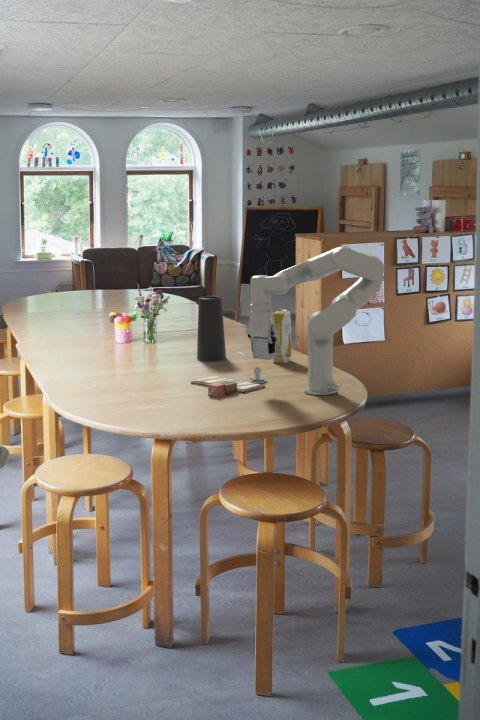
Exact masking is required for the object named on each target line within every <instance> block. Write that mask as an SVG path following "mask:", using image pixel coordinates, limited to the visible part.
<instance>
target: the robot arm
mask: <svg viewBox="0 0 480 720" xmlns="http://www.w3.org/2000/svg"><path fill="white" fill-rule="evenodd" d="M339 271H342V272H345V273H348V274H351V275H353V276H357V277H359V278H358V279H357V281H356V282H354V283H353V284H352V285H351V286H350V287H348V288H347V289H346V290H344V291H343V292H341V293H340V294H339V295H338V296H335V297H334V298H333V300H332V301H331V304H330V305H328V306H327V307H326V308H324V309H323V310H318V311H315V312H313V313H312V314H311V315H310V316H309V319H308V321H307V332H308V333H307V334H308V335H307V339H308V342H307V344H308V345H307V348H308V349H307V350H308V352H307V353H308V354H307V358H308V360H307V367H308V368H307V369H308V370H307V371H308V372H307V381H308V382H307V385H308V386H306V387H304V393H305V394H308V395H312V396H329V395H333V394H336V393H337V392H338V391H340V389H341V385H340V384H336V381H335V380H333V379H334V376H333V375H334V373H333V372H334V370H333V369H334V368H333V367H334V358H333V357H334V336H333V335H334V334H336V333H337V332H338V331H340V330H341V329H342V328H344V327H345V326H346V325H348V324H349V323H350V322H351V321H352V320H353V319H354V318H355V317H356V314H357V311H358V310H359V309H360V308H362V307H363V306H364V305H365V304H367V303H368V302H369V301H370V300H371V299H372V298H373V297H374V296H376V294H377V293H378V292H379V290H380V289H381V286H382V282H383V278H384V273H385V264H384V263H383V261H382V260H381V259H380V258H379V257H378V256H376V255H367V254H364V253H362V252H359V251H356V250H354V249H352V248H350V247H349V246H347V245H341V246H338V247H335V248H332V249H330V250H328V251H326V252H323V253H321V254H319V255H317V256H314V257H311V258H309V259H307V260H305V261H302V262H301V263H298V264H296V265H293V266H291V267H288V268H286V269H284V270H281V271H279V272H277V273H275V274H274V275H271V276H269V275H264V274H258V275H253V276H251V278H250V296H251V297H250V298H251V303H250V308H251V310H250V312H249V318H248V327H247V328H246V329H245V334H246V335H247V337H248V339H249V341H250V342H251V352H252V353H253V347H252V337H262V338H268V341H269V344H268V348H269V354H271V353H275V342H276V341H277V339H278V337H279V335H280V332H279V331H278V330H276V329H275V323H274V316H273V313H274V312H273V310H272V296H271V295H285V294H286V293H287V292H289V290H290V289H292V288H294V287H297V286H299V285H302V284H304V283H306V282H314V281H319V280H321V279H324V278H326V277H328V276H330V275H334V274H335V273H337V272H339ZM274 335H275V336H274ZM270 337H271V338H272V339H271V338H270Z"/></svg>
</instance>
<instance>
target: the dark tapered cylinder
mask: <svg viewBox="0 0 480 720" xmlns="http://www.w3.org/2000/svg"><path fill="white" fill-rule="evenodd" d="M197 305H198V307H197V310H198V312H197V313H198V314H197V344H196V346H197V348H196V349H197V350H196V360H198V361H202V362H218V361H224V360H226V359H227V352H226V351H227V350H226V339H225V338H226V337H225V328H224V327H225V325H224V314H223V299H222V297H221V296H217V295H204V296H200V297H198V304H197Z"/></svg>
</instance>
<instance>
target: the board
mask: <svg viewBox="0 0 480 720" xmlns="http://www.w3.org/2000/svg"><path fill="white" fill-rule="evenodd" d="M223 381H230V382H235V383H237V393H239V394H243V395H244V394H247V393H251V392H255V391H258V390H261V388H262V389H265V388H266V385H263V384H261V383H252V382H249V381H243V380H238V379H237V380H236V379H231V378H227V377H220V376H216V375H212V376H208V377H207V376H206V377H203V378H199V379H196V380H192V381H190V384H191V385H192V384H193V385H197V386H203V387H207V388H208V385H209V384H213V383H219V382H223Z"/></svg>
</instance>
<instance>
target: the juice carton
mask: <svg viewBox="0 0 480 720" xmlns="http://www.w3.org/2000/svg"><path fill="white" fill-rule="evenodd" d="M273 316H274V323H275V329H276V330H278V331H279V332H280V335H279V337H278V339H277V341H276V342H275V358H274V359H271V360H272V363H274V364H287V363H288V362H289V361H291V358H292V317H291V312H290V311H288V310H287V309H281V310H277V311H275V312H273ZM274 336H275V335H274Z"/></svg>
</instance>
